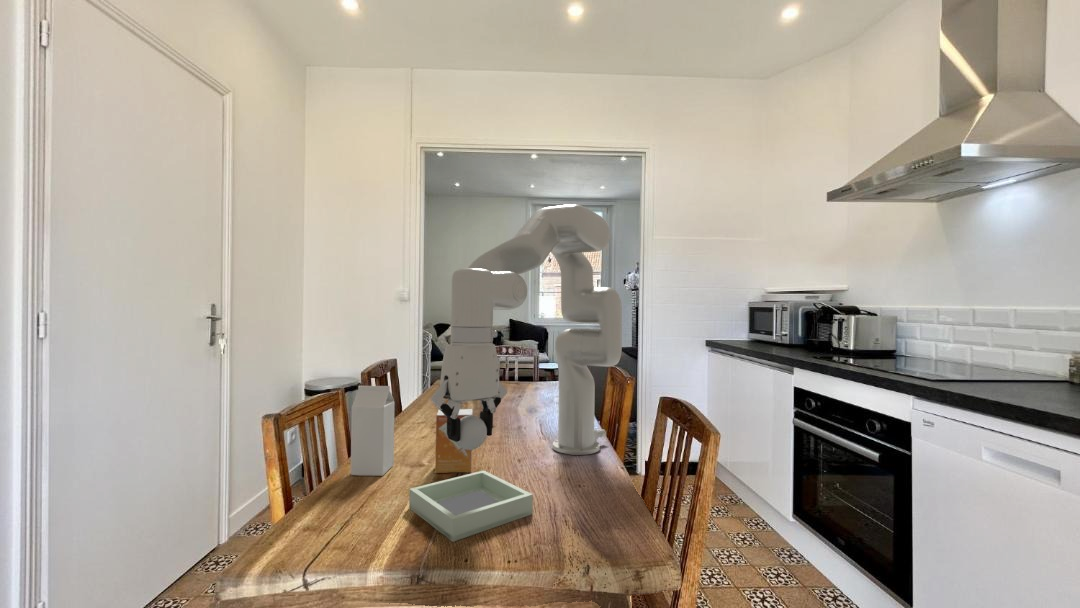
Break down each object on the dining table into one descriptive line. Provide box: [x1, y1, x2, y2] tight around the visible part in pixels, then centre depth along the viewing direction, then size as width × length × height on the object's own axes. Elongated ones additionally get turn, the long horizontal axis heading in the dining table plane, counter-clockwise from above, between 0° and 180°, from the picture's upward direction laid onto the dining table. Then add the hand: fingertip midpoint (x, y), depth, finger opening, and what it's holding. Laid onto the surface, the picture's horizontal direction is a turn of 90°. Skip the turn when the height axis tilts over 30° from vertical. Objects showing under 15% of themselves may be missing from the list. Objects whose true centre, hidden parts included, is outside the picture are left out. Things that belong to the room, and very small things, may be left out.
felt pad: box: [436, 490, 499, 515], centre depth 84 cm, size 10×10×1 cm
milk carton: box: [350, 385, 395, 477], centre depth 105 cm, size 7×7×19 cm
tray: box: [408, 470, 534, 543], centre depth 84 cm, size 16×16×4 cm
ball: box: [456, 415, 487, 451], centre depth 84 cm, size 6×6×6 cm
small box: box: [434, 408, 474, 474], centre depth 107 cm, size 8×6×13 cm
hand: (470, 436), depth 84 cm, fingers closed on ball, 5 cm apart
